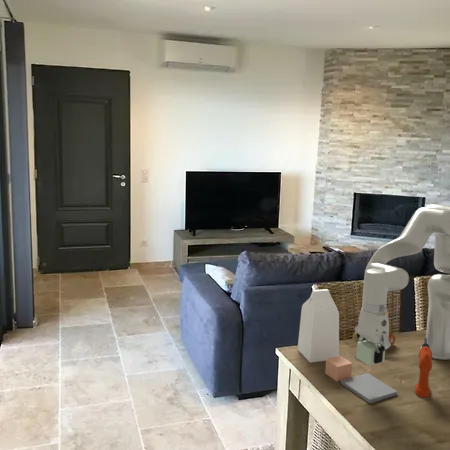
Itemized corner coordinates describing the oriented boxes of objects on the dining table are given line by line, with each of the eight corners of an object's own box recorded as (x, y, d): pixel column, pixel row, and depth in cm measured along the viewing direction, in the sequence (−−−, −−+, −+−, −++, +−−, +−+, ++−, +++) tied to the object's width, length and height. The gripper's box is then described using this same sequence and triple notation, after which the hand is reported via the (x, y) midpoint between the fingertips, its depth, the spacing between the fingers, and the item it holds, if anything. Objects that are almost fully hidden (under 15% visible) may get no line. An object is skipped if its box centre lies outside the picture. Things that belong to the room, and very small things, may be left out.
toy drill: (430, 369, 179) (433, 332, 175) (430, 401, 163) (434, 361, 158) (415, 366, 181) (419, 330, 176) (414, 398, 164) (418, 358, 160)
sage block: (370, 354, 170) (371, 338, 169) (384, 361, 164) (385, 346, 163) (356, 357, 167) (357, 342, 166) (369, 365, 162) (370, 349, 161)
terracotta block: (339, 370, 181) (340, 355, 180) (351, 377, 176) (352, 363, 175) (325, 373, 179) (326, 359, 177) (336, 381, 173) (337, 366, 172)
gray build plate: (367, 376, 177) (367, 372, 177) (397, 394, 165) (397, 391, 164) (340, 383, 171) (341, 380, 171) (369, 403, 159) (369, 400, 159)
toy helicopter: (397, 344, 203) (399, 312, 200) (361, 356, 192) (363, 322, 189) (381, 337, 210) (383, 306, 207) (345, 348, 199) (347, 316, 196)
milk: (324, 346, 201) (328, 284, 196) (338, 358, 190) (342, 293, 185) (297, 349, 198) (299, 286, 193) (310, 362, 187) (312, 296, 182)
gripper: (402, 313, 156) (398, 366, 160) (364, 297, 172) (360, 346, 175) (385, 317, 153) (380, 371, 156) (347, 300, 168) (344, 350, 172)
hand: (370, 357), depth 166 cm, fingers closed on sage block, 6 cm apart
